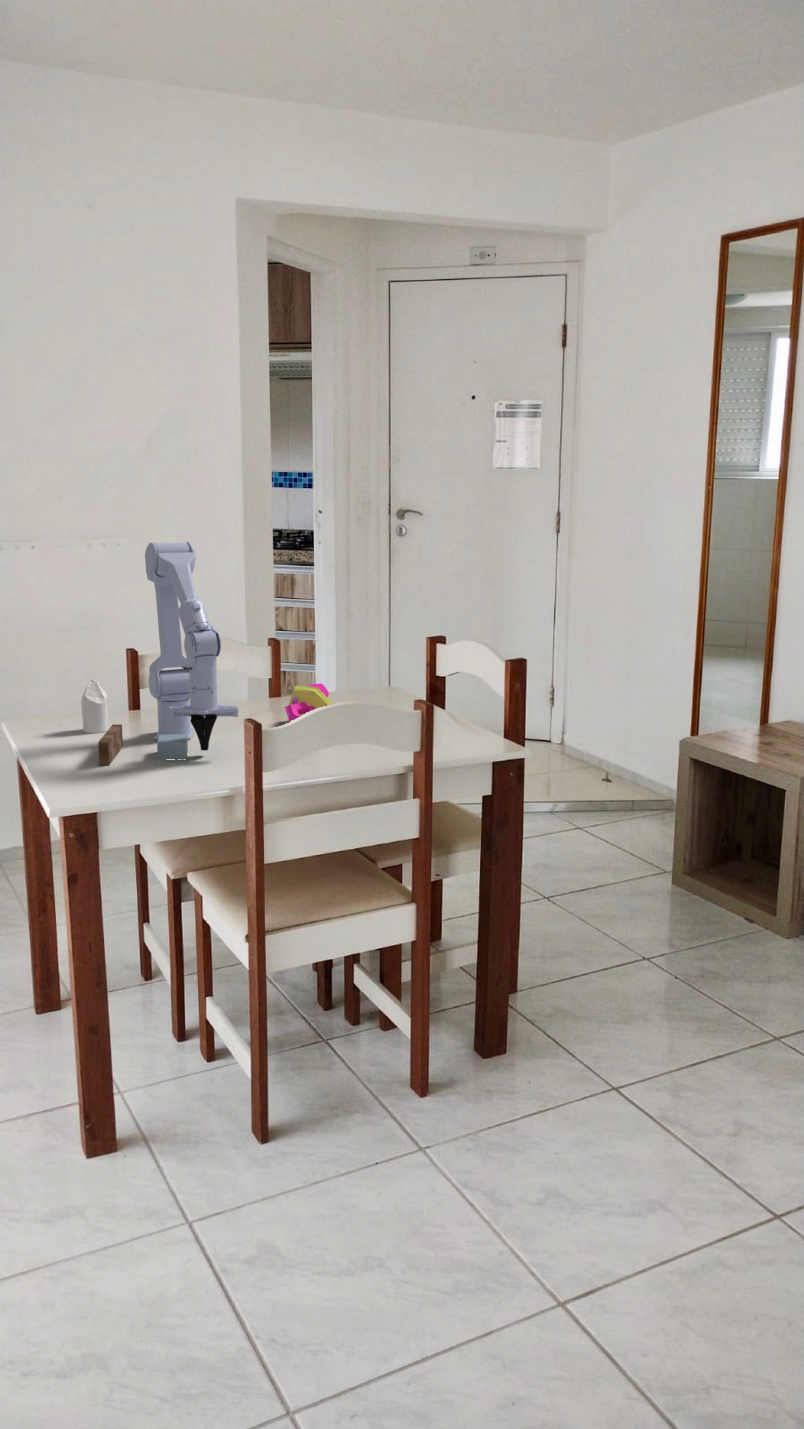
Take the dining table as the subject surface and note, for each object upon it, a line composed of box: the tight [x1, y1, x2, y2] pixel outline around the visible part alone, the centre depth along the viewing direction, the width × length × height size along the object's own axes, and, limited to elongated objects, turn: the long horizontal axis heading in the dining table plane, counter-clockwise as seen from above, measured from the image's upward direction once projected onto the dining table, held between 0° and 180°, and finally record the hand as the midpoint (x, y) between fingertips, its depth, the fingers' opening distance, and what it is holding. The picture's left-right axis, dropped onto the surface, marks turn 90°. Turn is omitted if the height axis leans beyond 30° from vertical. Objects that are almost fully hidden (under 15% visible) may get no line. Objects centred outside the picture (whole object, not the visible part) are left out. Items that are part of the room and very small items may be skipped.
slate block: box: [156, 734, 189, 761], centre depth 240 cm, size 8×6×4 cm
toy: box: [284, 683, 334, 722], centre depth 273 cm, size 10×18×10 cm, turn 165°
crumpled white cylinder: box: [80, 679, 109, 734], centre depth 261 cm, size 6×12×6 cm
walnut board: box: [97, 723, 124, 767], centre depth 239 cm, size 16×2×5 cm, turn 4°
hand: (204, 749), depth 241 cm, fingers closed
